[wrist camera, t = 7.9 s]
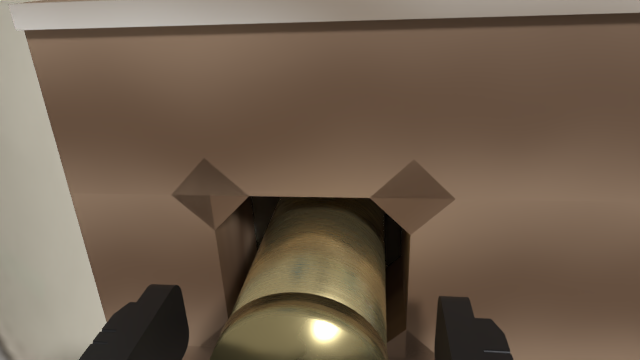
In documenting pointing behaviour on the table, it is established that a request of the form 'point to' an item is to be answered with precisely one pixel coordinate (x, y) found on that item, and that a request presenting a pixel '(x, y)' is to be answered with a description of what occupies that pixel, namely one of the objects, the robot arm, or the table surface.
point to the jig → (360, 151)
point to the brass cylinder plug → (313, 286)
